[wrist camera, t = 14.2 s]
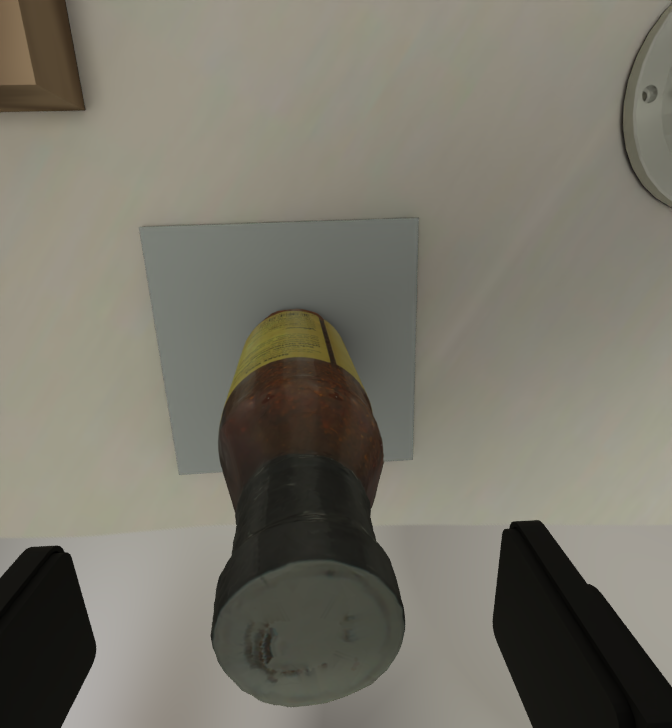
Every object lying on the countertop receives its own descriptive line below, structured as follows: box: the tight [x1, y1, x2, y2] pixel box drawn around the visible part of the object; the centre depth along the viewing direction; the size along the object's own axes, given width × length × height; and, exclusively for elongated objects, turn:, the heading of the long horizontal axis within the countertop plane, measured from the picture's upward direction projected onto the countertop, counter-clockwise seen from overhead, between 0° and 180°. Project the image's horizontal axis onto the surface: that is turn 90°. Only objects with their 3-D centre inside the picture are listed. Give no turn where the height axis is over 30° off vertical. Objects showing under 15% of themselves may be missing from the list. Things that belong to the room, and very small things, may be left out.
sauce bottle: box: [211, 309, 405, 707], centre depth 18 cm, size 6×6×20 cm
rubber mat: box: [139, 218, 419, 475], centre depth 28 cm, size 16×16×1 cm
